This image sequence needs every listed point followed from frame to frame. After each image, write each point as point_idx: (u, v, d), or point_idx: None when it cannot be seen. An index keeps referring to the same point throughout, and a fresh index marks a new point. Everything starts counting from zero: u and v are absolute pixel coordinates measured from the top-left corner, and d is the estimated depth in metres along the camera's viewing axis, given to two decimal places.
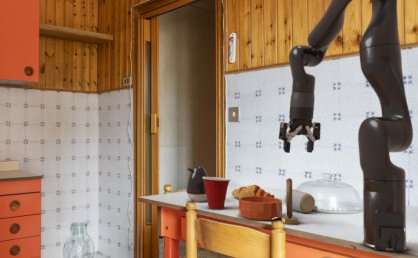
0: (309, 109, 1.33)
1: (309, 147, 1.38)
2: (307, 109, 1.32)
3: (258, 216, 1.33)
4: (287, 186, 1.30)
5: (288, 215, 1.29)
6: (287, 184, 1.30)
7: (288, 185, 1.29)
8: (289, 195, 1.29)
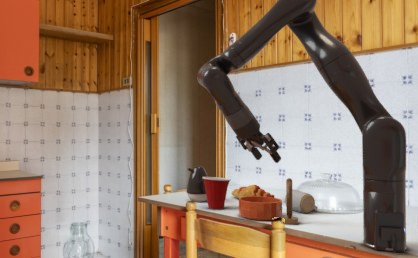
0: None
1: (258, 153, 1.29)
2: None
3: (258, 216, 1.33)
4: (287, 186, 1.30)
5: (288, 215, 1.29)
6: (287, 184, 1.30)
7: (288, 185, 1.29)
8: (289, 195, 1.29)
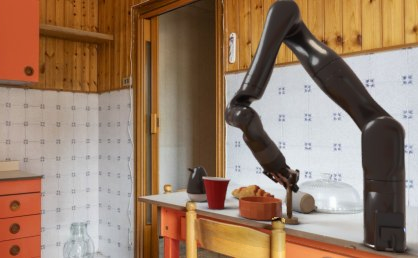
0: None
1: None
2: None
3: (258, 216, 1.33)
4: (287, 186, 1.30)
5: (288, 215, 1.29)
6: (287, 184, 1.30)
7: (288, 185, 1.29)
8: (289, 195, 1.29)
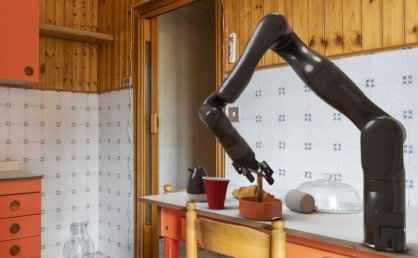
0: None
1: (251, 177, 1.43)
2: None
3: (258, 216, 1.33)
4: (258, 181, 1.39)
5: None
6: (258, 179, 1.39)
7: (258, 180, 1.39)
8: (259, 189, 1.39)
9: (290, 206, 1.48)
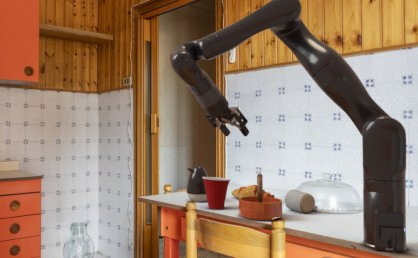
0: None
1: (226, 130, 1.37)
2: None
3: (258, 216, 1.33)
4: (258, 181, 1.39)
5: None
6: (258, 179, 1.39)
7: (258, 180, 1.39)
8: (259, 189, 1.39)
9: (290, 206, 1.48)
